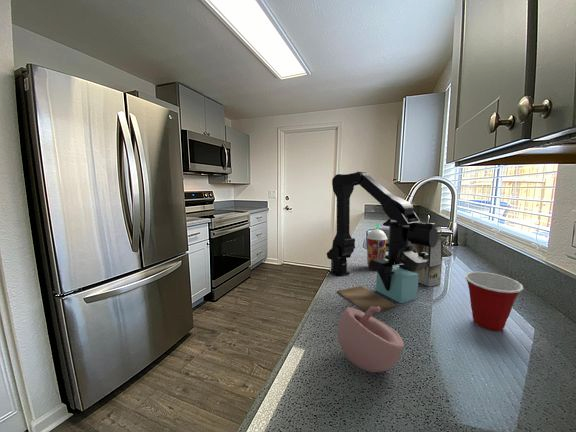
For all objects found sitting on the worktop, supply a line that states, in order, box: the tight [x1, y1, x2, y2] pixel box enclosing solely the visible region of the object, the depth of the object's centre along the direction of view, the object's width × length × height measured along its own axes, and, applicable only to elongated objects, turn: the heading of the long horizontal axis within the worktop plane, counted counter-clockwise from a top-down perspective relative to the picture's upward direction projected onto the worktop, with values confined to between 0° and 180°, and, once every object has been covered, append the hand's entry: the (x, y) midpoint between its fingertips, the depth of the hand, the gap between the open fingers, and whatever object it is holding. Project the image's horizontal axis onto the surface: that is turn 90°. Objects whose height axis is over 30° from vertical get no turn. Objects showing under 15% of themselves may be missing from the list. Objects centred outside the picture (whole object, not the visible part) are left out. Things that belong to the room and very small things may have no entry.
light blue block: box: [375, 266, 419, 304], centre depth 75 cm, size 10×7×8 cm
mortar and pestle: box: [337, 306, 405, 373], centre depth 45 cm, size 12×12×11 cm
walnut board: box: [336, 285, 397, 313], centre depth 72 cm, size 15×10×1 cm, turn 24°
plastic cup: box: [464, 271, 524, 332], centre depth 58 cm, size 11×11×12 cm
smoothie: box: [366, 222, 389, 271], centre depth 100 cm, size 8×8×20 cm
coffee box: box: [409, 239, 444, 287], centre depth 86 cm, size 9×6×16 cm
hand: (395, 288), depth 76 cm, fingers closed on light blue block, 7 cm apart
